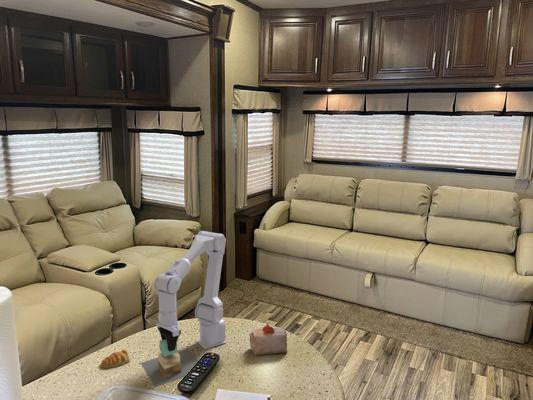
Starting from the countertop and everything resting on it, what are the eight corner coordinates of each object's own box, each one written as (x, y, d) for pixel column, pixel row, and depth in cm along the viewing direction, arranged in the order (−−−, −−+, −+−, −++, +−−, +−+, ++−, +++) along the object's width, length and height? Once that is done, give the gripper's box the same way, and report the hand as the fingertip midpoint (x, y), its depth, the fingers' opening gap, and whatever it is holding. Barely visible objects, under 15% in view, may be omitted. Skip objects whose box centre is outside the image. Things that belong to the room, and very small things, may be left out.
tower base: (174, 363, 143) (174, 355, 142) (181, 372, 138) (181, 364, 138) (158, 369, 140) (157, 361, 139) (164, 377, 135) (164, 369, 134)
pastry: (105, 373, 138) (104, 363, 137) (98, 364, 143) (97, 354, 142) (131, 363, 144) (131, 353, 143) (124, 355, 149) (123, 345, 148)
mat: (187, 349, 153) (187, 348, 153) (206, 370, 140) (206, 369, 140) (140, 363, 143) (140, 362, 143) (155, 387, 130) (155, 386, 130)
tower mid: (174, 356, 142) (173, 348, 142) (180, 364, 138) (180, 355, 137) (158, 361, 139) (158, 353, 138) (164, 369, 135) (164, 360, 134)
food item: (252, 358, 148) (252, 333, 146) (248, 346, 156) (248, 323, 154) (288, 354, 151) (289, 330, 149) (283, 343, 158) (283, 320, 157)
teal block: (172, 346, 141) (172, 337, 140) (177, 352, 137) (177, 343, 136) (159, 350, 138) (159, 340, 137) (164, 356, 134) (164, 346, 134)
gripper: (149, 304, 139) (150, 340, 141) (164, 320, 127) (165, 360, 129) (168, 299, 143) (169, 335, 145) (185, 315, 131) (185, 354, 133)
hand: (168, 346), depth 137 cm, fingers closed on teal block, 4 cm apart
